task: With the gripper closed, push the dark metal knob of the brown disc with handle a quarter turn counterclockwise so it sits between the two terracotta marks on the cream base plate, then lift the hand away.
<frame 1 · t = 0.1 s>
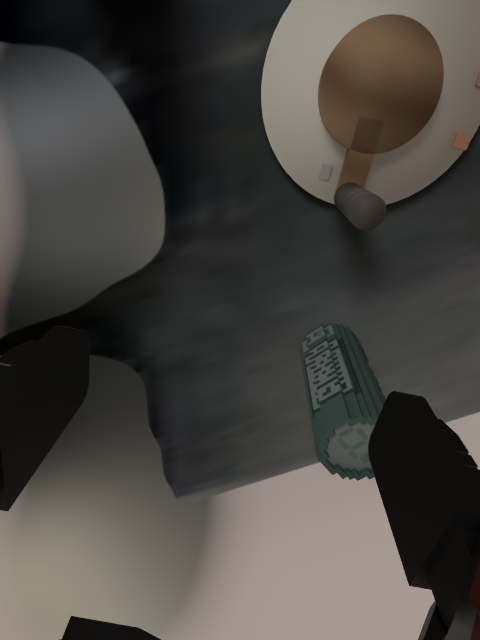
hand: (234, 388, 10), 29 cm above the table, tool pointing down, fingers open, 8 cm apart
brown disc with handle: (379, 122, 27), point 6 cm above the table, hinge at 0.0°
green piece: (329, 348, 42), on the table
dial base: (371, 92, 32), on the table
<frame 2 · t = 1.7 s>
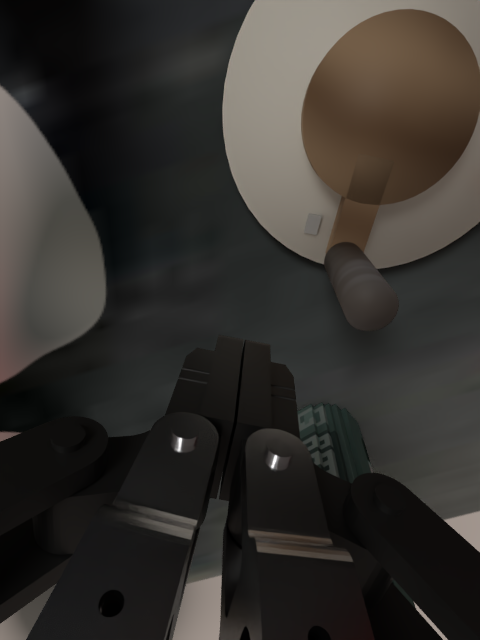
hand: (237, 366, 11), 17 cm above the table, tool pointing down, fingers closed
brown disc with handle: (388, 168, 19), point 6 cm above the table, hinge at 0.0°
green piece: (321, 430, 34), on the table
dial base: (375, 118, 23), on the table
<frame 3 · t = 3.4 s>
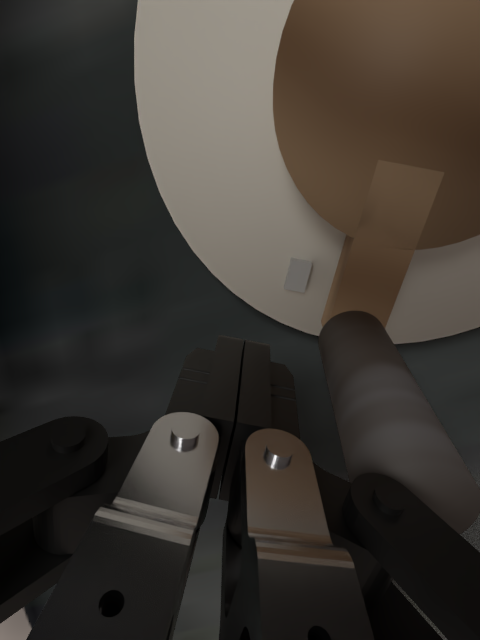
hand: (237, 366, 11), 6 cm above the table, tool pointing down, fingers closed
brown disc with handle: (444, 190, 9), point 6 cm above the table, hinge at 0.5°, touching gripper
dial base: (403, 98, 13), on the table
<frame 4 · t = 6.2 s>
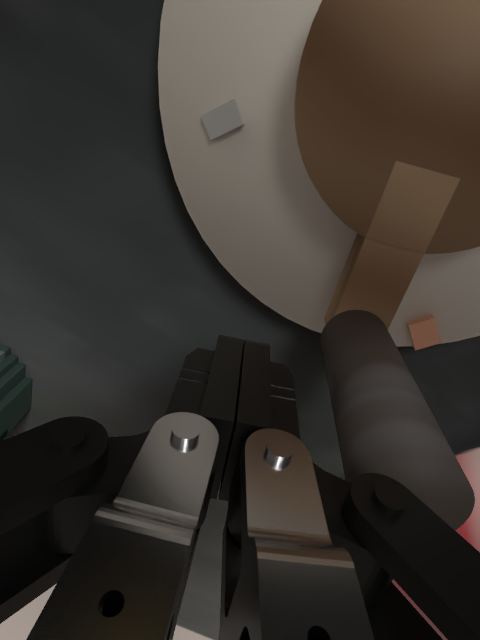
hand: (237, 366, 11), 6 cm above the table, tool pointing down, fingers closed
brown disc with handle: (461, 195, 9), point 6 cm above the table, hinge at 52.7°, touching gripper
dial base: (425, 101, 13), on the table
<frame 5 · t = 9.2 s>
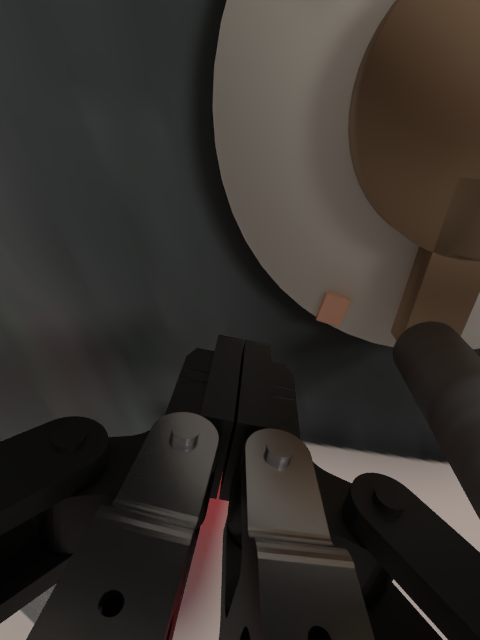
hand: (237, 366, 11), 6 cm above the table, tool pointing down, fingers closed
dial base: (471, 112, 14), on the table
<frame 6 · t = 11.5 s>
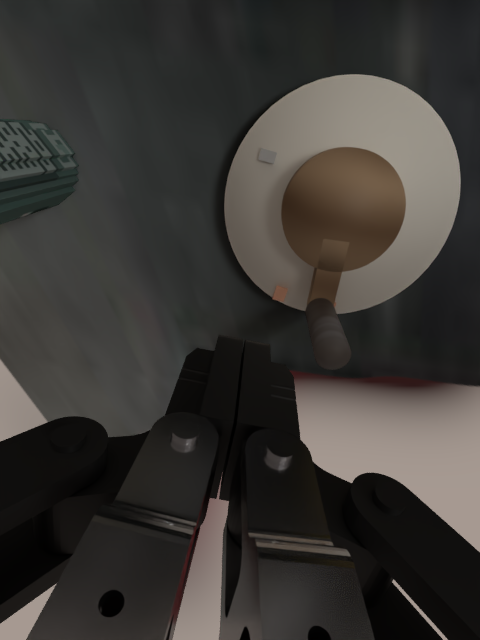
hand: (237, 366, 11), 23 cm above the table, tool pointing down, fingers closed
brown disc with handle: (341, 255, 27), point 6 cm above the table, hinge at 98.6°
green piece: (41, 165, 31), on the table
dial base: (336, 207, 31), on the table
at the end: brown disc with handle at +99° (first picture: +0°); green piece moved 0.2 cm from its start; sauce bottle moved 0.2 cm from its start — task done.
